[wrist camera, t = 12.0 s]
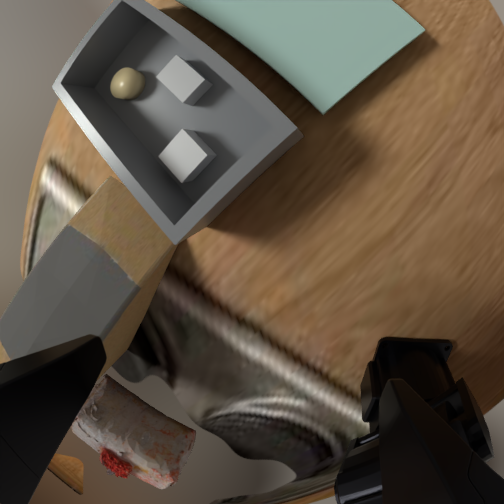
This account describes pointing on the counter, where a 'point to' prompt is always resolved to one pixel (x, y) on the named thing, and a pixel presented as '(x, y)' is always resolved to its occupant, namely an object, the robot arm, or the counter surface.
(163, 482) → the food item
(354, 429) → the counter surface
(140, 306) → the sandwich container
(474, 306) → the counter surface
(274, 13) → the lid
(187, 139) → the box
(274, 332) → the counter surface
